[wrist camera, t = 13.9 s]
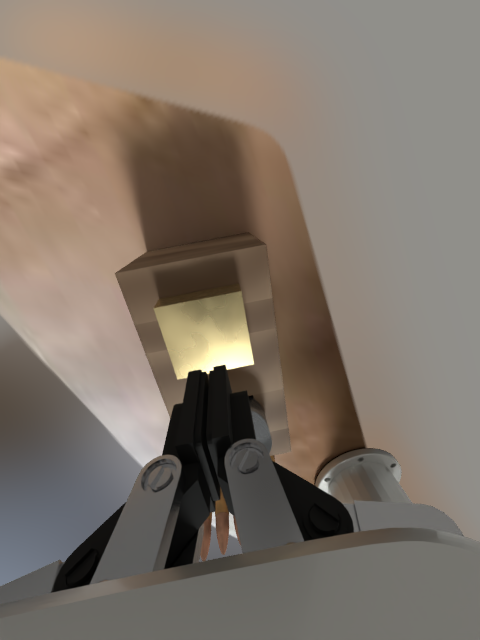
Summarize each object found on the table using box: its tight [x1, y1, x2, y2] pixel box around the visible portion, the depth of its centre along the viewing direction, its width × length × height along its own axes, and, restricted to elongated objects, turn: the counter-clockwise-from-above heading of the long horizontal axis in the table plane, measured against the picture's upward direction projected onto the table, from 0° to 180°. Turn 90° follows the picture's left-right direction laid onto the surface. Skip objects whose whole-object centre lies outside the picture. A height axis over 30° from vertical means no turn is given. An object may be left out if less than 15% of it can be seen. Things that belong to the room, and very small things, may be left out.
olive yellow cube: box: [154, 283, 254, 379], centre depth 17 cm, size 5×5×5 cm
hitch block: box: [115, 233, 291, 456], centre depth 22 cm, size 18×9×8 cm, turn 10°
